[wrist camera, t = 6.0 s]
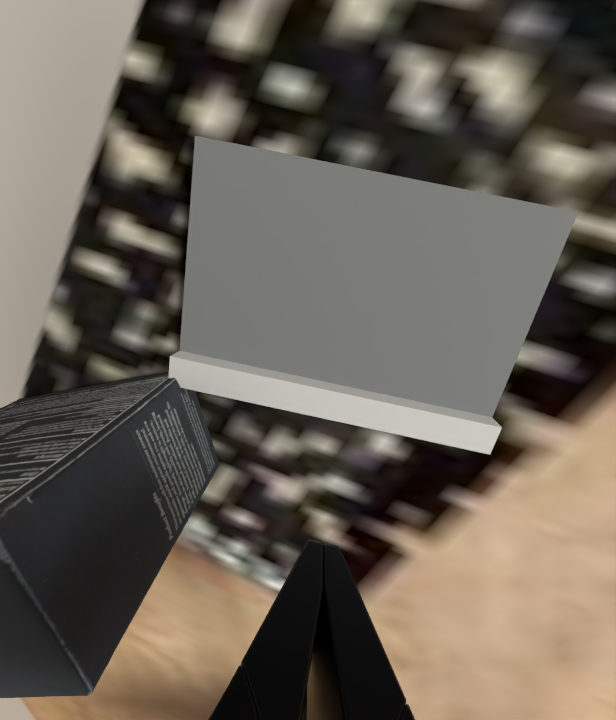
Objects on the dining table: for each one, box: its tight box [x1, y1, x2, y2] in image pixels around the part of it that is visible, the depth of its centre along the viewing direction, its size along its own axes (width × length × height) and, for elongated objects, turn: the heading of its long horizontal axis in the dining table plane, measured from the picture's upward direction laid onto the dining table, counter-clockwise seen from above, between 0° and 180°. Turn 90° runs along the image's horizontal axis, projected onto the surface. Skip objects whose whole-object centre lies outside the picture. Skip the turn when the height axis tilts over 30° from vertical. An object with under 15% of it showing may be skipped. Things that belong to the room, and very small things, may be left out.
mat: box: [169, 136, 578, 454], centre depth 15 cm, size 11×16×2 cm
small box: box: [0, 372, 219, 698], centre depth 13 cm, size 11×6×10 cm, turn 102°
